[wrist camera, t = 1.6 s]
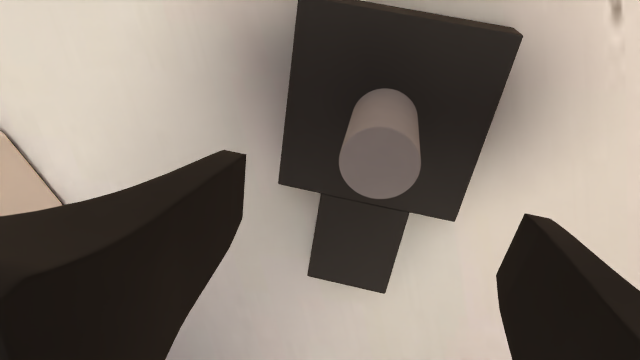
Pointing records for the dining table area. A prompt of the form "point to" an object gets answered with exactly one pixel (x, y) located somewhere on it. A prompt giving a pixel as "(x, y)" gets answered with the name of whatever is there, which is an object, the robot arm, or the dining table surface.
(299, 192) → the dining table surface
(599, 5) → the dining table surface
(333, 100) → the black pad
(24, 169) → the milk carton
